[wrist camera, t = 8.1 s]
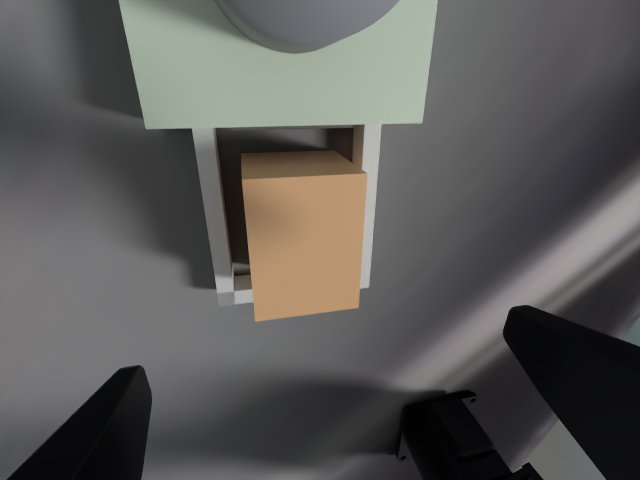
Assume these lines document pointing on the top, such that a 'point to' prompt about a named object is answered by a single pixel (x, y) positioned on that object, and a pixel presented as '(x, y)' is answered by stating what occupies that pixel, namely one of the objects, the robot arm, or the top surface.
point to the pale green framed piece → (278, 83)
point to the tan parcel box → (303, 231)
